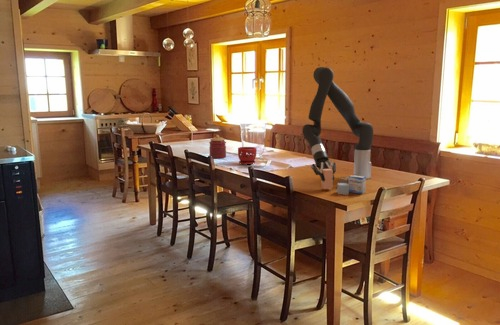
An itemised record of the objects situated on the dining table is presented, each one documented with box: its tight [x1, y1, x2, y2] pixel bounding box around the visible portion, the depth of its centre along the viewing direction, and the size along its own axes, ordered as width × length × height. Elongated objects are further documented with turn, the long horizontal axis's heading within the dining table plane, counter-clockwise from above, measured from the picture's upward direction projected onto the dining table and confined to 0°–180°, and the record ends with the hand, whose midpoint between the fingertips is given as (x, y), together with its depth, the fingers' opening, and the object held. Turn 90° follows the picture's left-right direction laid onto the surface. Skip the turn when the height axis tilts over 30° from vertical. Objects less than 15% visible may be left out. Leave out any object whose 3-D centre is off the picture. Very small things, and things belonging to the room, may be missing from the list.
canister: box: [208, 134, 227, 160], centre depth 332 cm, size 13×13×18 cm
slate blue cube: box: [336, 182, 350, 196], centre depth 222 cm, size 5×5×5 cm
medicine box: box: [348, 174, 367, 195], centre depth 224 cm, size 8×4×9 cm, turn 56°
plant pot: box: [237, 146, 257, 166], centre depth 304 cm, size 13×13×12 cm
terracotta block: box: [320, 168, 334, 190], centre depth 229 cm, size 4×4×10 cm
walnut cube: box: [339, 176, 349, 185], centre depth 235 cm, size 5×5×5 cm
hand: (328, 180), depth 227 cm, fingers closed on terracotta block, 4 cm apart
